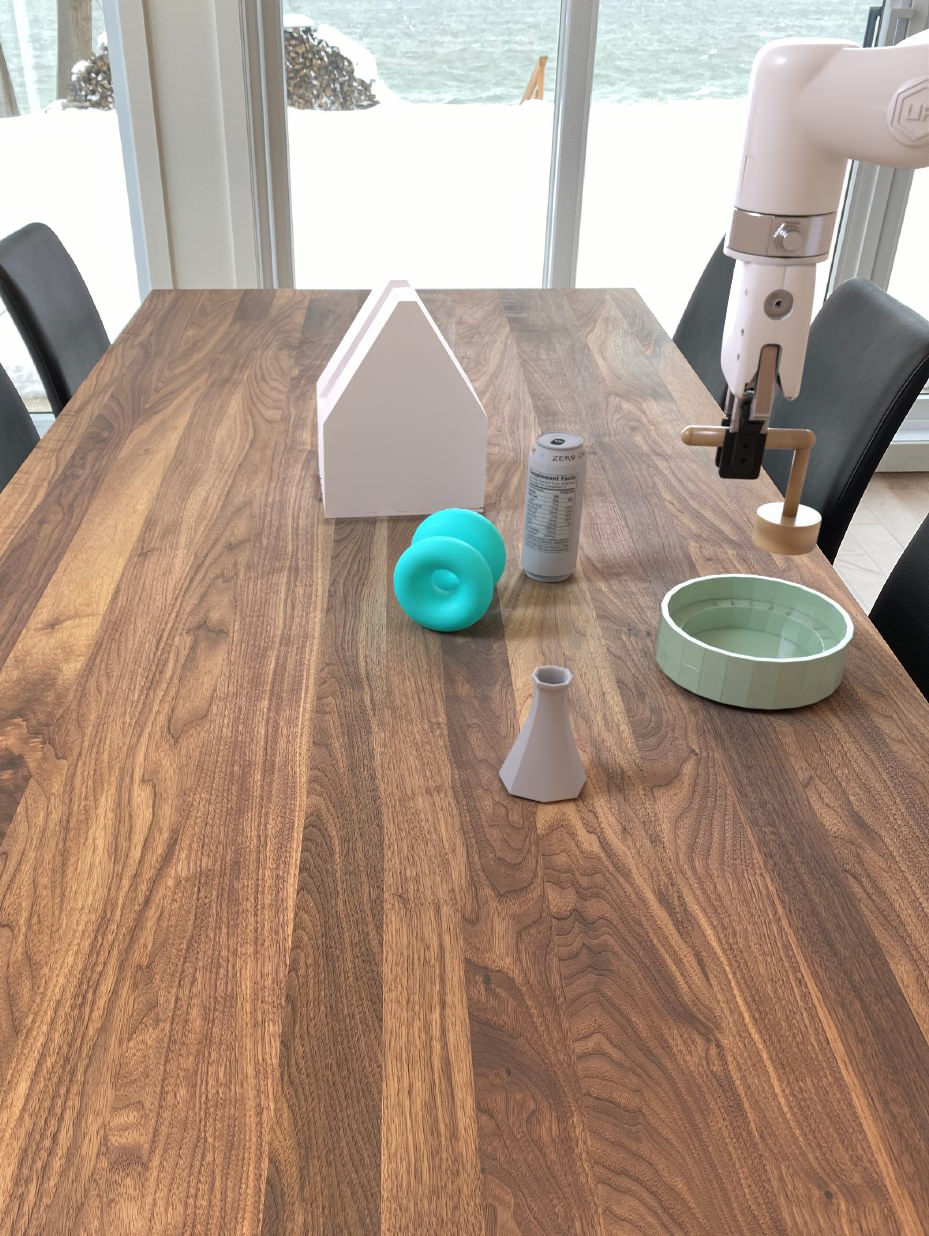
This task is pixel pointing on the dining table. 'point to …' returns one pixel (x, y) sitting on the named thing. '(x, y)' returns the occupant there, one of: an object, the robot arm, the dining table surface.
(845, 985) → the dining table surface
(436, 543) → the turquoise spool
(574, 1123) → the dining table surface
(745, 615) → the bowl
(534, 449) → the energy drink can
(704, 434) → the wooden hook stand
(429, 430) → the milk carton
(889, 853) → the dining table surface
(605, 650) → the dining table surface
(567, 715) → the flask
